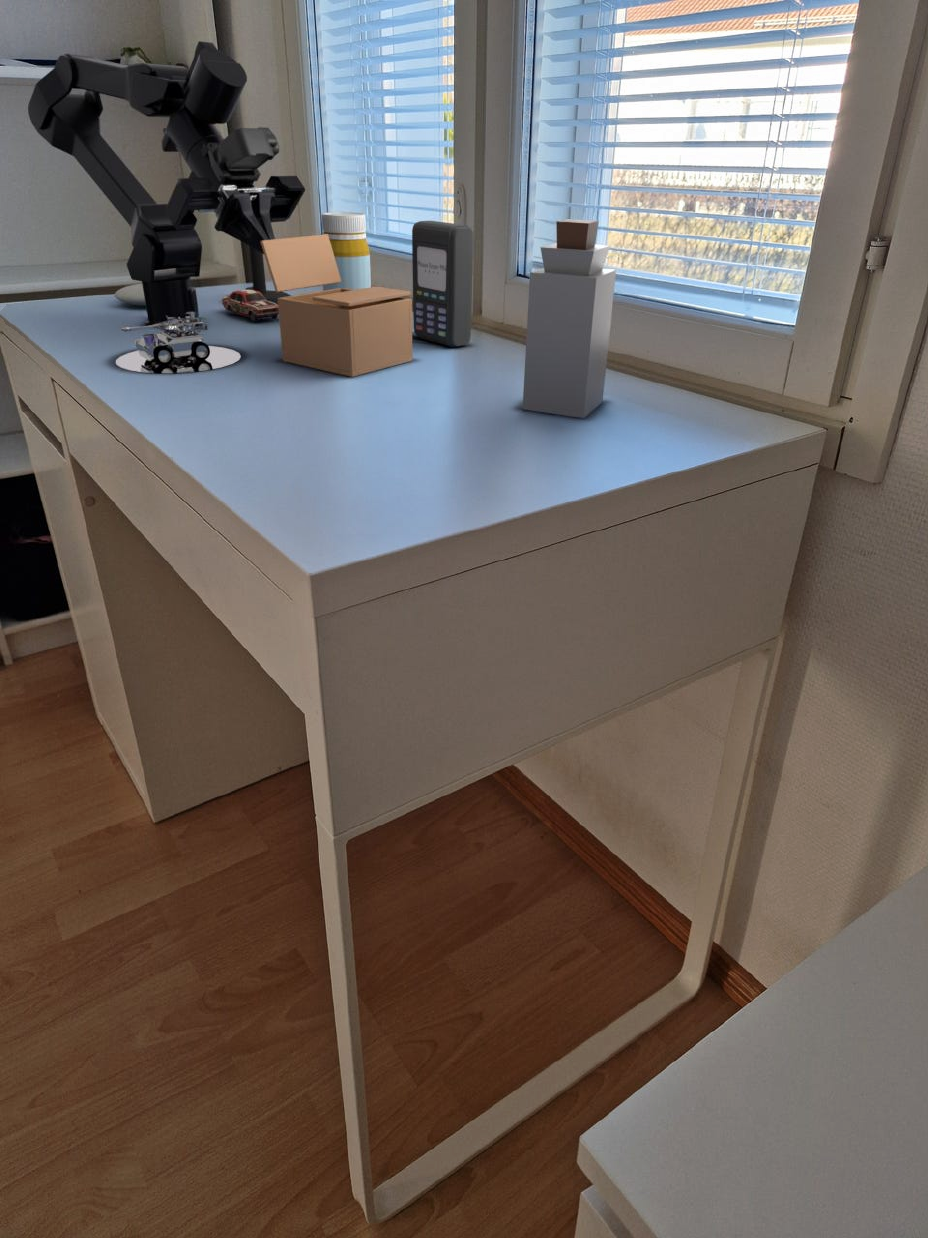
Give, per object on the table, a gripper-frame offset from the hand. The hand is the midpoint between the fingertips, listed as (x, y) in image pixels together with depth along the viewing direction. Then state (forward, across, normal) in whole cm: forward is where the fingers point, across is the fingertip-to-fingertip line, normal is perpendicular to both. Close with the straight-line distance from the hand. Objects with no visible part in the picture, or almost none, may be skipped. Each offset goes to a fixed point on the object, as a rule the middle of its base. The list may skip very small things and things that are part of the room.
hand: (274, 255), depth 106 cm
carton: (+17, 0, 0) cm, 17 cm away
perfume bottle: (+39, +1, -22) cm, 45 cm away
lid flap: (+4, 0, -3) cm, 5 cm away
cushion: (-20, +8, +36) cm, 41 cm away
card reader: (+18, +17, -2) cm, 25 cm away
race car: (-6, +11, +22) cm, 25 cm away
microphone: (-16, +23, +32) cm, 43 cm away
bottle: (+5, +17, +11) cm, 21 cm away
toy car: (+5, -13, +11) cm, 18 cm away
